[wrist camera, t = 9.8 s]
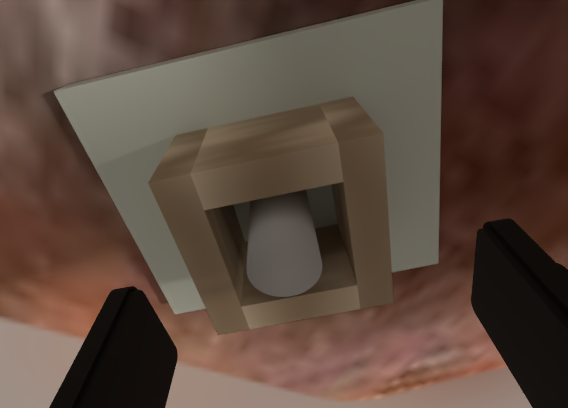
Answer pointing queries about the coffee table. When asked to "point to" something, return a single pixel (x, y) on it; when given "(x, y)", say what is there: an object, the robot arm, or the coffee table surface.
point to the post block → (269, 100)
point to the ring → (271, 182)
